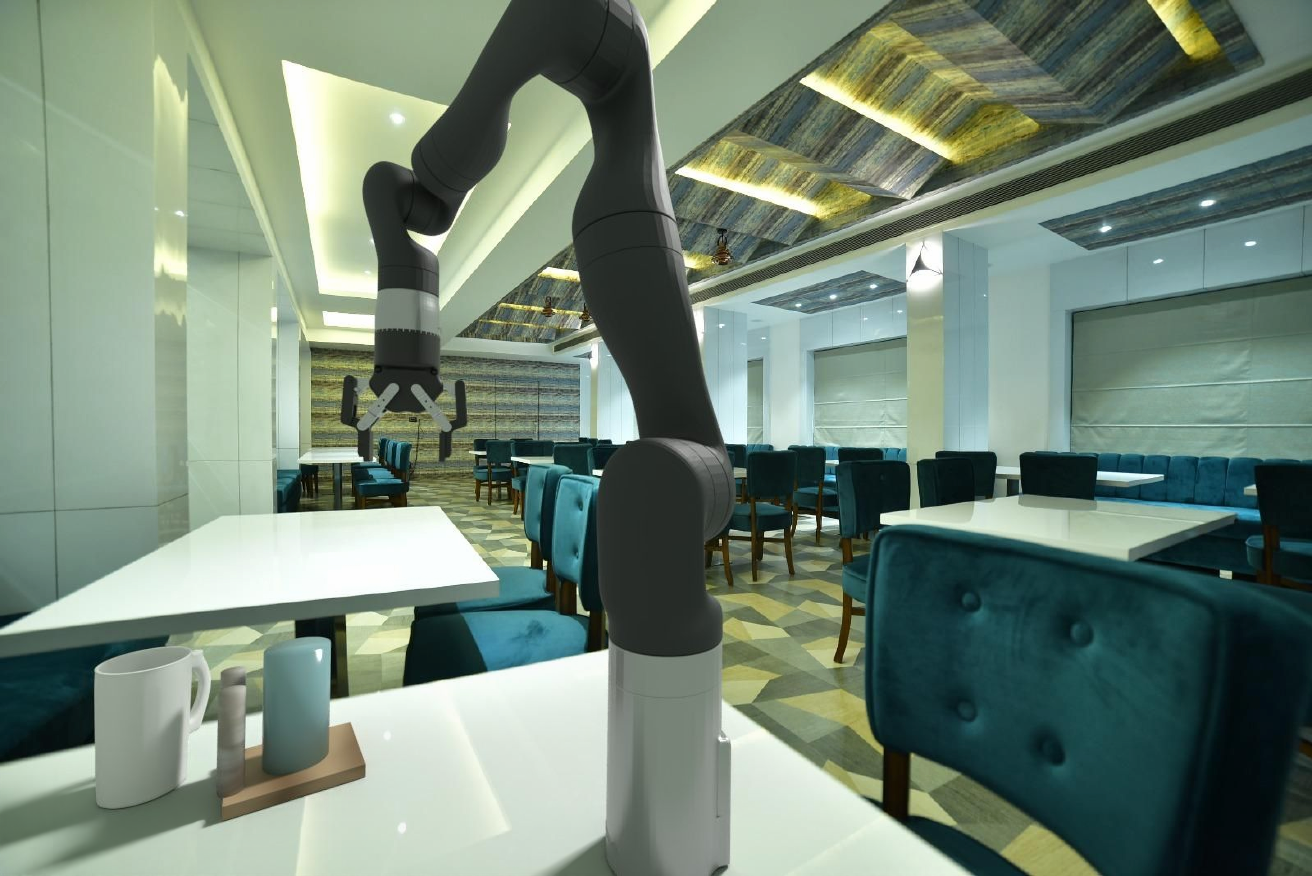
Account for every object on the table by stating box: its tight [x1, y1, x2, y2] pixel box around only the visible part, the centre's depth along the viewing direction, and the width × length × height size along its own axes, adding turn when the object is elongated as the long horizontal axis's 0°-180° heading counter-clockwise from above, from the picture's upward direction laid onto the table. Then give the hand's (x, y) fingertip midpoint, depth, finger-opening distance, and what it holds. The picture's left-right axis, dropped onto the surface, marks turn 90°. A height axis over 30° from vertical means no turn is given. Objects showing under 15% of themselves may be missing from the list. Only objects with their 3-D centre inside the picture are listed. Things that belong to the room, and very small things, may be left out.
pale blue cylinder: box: [261, 636, 332, 775], centre depth 55 cm, size 6×6×11 cm
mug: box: [93, 645, 212, 810], centre depth 54 cm, size 10×7×12 cm, turn 174°
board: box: [215, 665, 367, 822], centre depth 55 cm, size 12×10×10 cm
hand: (406, 462), depth 69 cm, fingers open, 8 cm apart
